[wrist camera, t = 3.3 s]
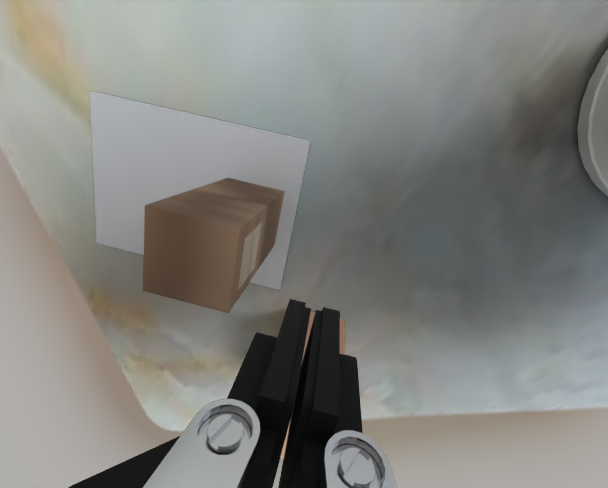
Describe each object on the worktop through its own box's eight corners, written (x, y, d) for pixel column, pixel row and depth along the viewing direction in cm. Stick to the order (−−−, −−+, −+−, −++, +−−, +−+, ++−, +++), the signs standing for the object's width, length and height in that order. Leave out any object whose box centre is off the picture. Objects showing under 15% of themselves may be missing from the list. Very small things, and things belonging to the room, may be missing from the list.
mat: (311, 140, 19) (310, 140, 19) (281, 286, 23) (279, 290, 23) (96, 92, 20) (89, 90, 20) (102, 240, 24) (96, 242, 24)
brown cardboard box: (285, 191, 20) (241, 229, 12) (275, 245, 22) (229, 313, 13) (228, 177, 20) (144, 205, 12) (221, 231, 22) (143, 290, 13)
